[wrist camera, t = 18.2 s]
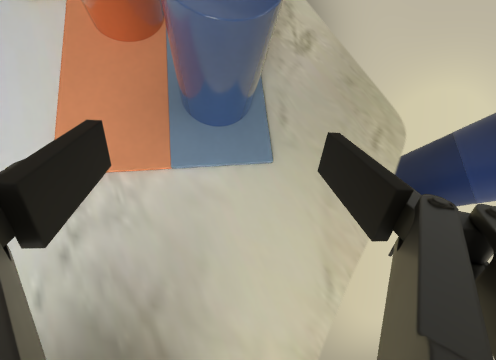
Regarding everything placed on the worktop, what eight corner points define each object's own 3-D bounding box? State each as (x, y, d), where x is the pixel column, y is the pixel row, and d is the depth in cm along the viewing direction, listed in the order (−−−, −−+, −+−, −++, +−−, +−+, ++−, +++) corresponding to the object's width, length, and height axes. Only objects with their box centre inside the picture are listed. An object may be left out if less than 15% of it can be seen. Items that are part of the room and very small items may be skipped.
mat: (247, -12, 27) (248, -17, 27) (271, 163, 22) (273, 161, 22) (71, -25, 24) (69, -30, 24) (55, 175, 19) (50, 173, 19)
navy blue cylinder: (248, 64, 24) (278, -74, 14) (256, 125, 23) (297, 23, 12) (178, 63, 23) (152, -89, 12) (181, 128, 21) (154, 16, 11)
